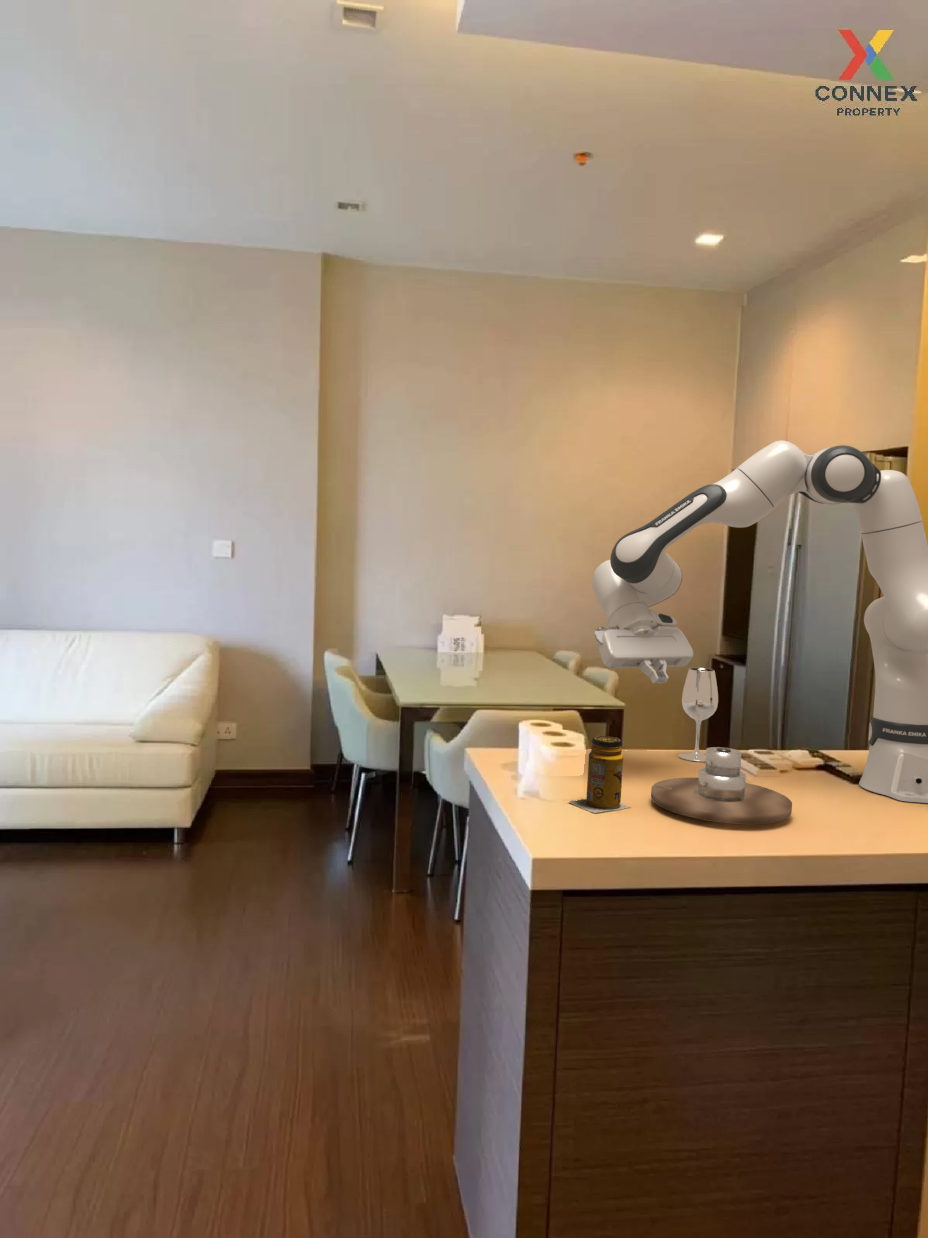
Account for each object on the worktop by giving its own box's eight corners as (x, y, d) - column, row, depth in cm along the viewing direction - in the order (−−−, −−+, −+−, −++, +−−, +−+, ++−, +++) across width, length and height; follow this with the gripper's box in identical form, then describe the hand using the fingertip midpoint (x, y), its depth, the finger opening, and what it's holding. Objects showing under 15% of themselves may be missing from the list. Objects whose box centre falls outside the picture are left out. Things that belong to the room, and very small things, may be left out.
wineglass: (671, 754, 200) (677, 667, 198) (701, 753, 202) (707, 667, 200) (690, 762, 192) (696, 672, 191) (721, 761, 194) (727, 671, 193)
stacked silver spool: (745, 792, 159) (748, 747, 158) (743, 803, 151) (746, 756, 151) (699, 787, 162) (702, 742, 161) (695, 797, 154) (698, 751, 153)
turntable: (791, 795, 164) (792, 787, 164) (791, 832, 141) (792, 823, 141) (660, 779, 172) (661, 771, 172) (641, 811, 150) (641, 802, 150)
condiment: (630, 808, 156) (634, 741, 155) (594, 814, 151) (598, 745, 150) (602, 797, 162) (606, 733, 161) (567, 803, 157) (570, 736, 156)
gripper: (597, 617, 174) (623, 673, 166) (681, 617, 182) (710, 670, 174) (584, 637, 178) (609, 692, 170) (666, 636, 187) (694, 689, 179)
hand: (661, 681), depth 172 cm, fingers closed
